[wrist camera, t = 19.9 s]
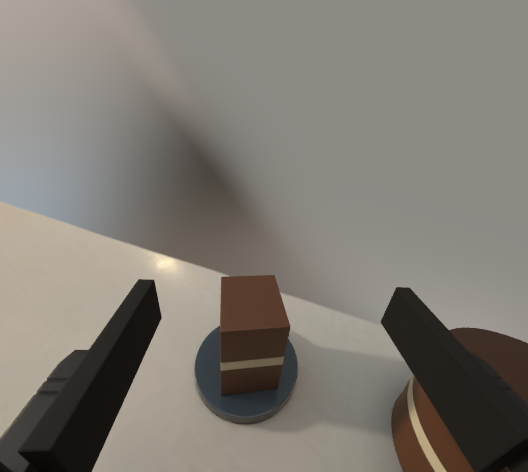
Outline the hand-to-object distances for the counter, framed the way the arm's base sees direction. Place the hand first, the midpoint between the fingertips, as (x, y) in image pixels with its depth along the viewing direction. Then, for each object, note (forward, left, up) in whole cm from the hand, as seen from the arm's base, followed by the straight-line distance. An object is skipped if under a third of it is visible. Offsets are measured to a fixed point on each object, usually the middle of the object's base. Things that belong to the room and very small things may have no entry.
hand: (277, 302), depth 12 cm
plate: (0, -5, -13) cm, 14 cm away
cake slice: (0, -5, -12) cm, 13 cm away
